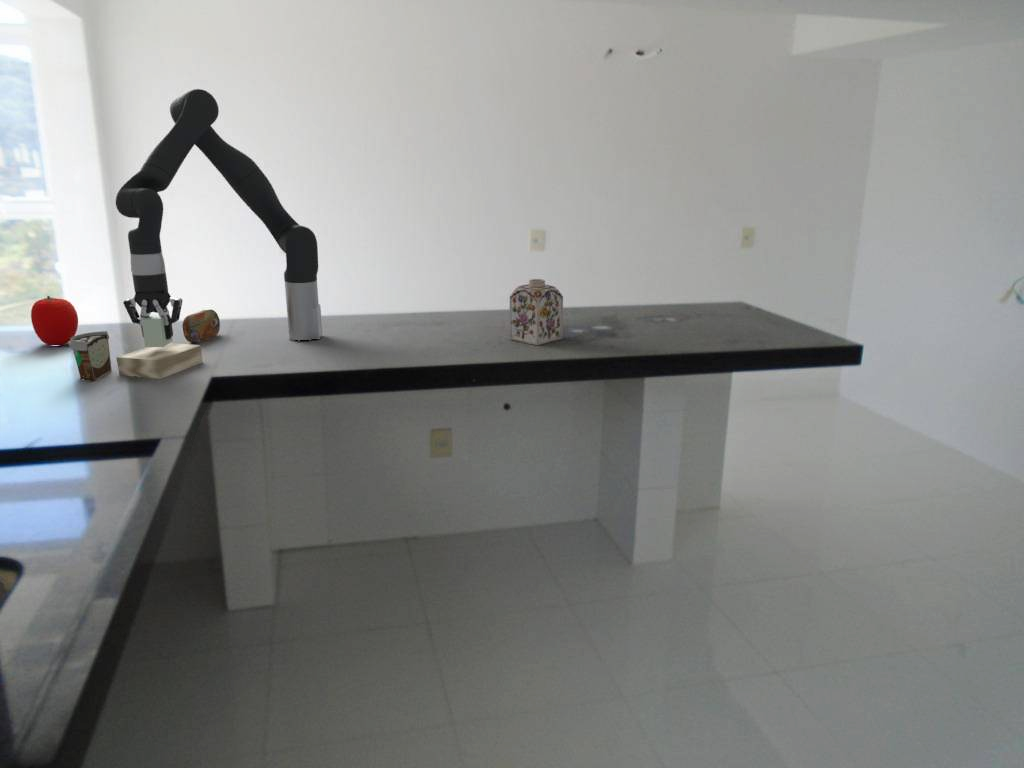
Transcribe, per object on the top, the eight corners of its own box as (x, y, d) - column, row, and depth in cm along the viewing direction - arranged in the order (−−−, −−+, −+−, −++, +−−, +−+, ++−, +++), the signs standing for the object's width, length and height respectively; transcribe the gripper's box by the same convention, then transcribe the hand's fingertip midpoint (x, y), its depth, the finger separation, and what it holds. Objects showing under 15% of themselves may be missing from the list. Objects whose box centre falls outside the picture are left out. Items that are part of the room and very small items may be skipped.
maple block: (202, 363, 195) (200, 345, 193) (160, 380, 180) (157, 360, 179) (164, 360, 198) (161, 342, 196) (119, 376, 183) (116, 357, 181)
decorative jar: (563, 339, 221) (564, 279, 216) (537, 346, 213) (538, 284, 208) (533, 333, 229) (534, 275, 224) (507, 339, 221) (508, 279, 215)
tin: (192, 345, 212) (188, 317, 209) (182, 345, 213) (178, 316, 210) (222, 334, 226) (219, 307, 224) (212, 333, 227) (209, 306, 224)
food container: (89, 369, 188) (82, 331, 185) (114, 369, 188) (108, 330, 185) (65, 383, 176) (57, 342, 173) (92, 382, 176) (85, 342, 173)
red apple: (30, 344, 213) (21, 295, 209) (73, 337, 221) (65, 290, 217) (44, 351, 205) (35, 301, 200) (88, 344, 212) (80, 296, 208)
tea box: (172, 341, 190) (169, 314, 188) (163, 347, 184) (160, 319, 182) (154, 341, 190) (150, 314, 188) (145, 347, 184) (141, 319, 182)
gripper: (184, 269, 186) (192, 335, 191) (125, 269, 185) (135, 336, 190) (173, 273, 179) (182, 342, 183) (112, 274, 177) (122, 343, 182)
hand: (158, 338), depth 187 cm, fingers closed on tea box, 4 cm apart
